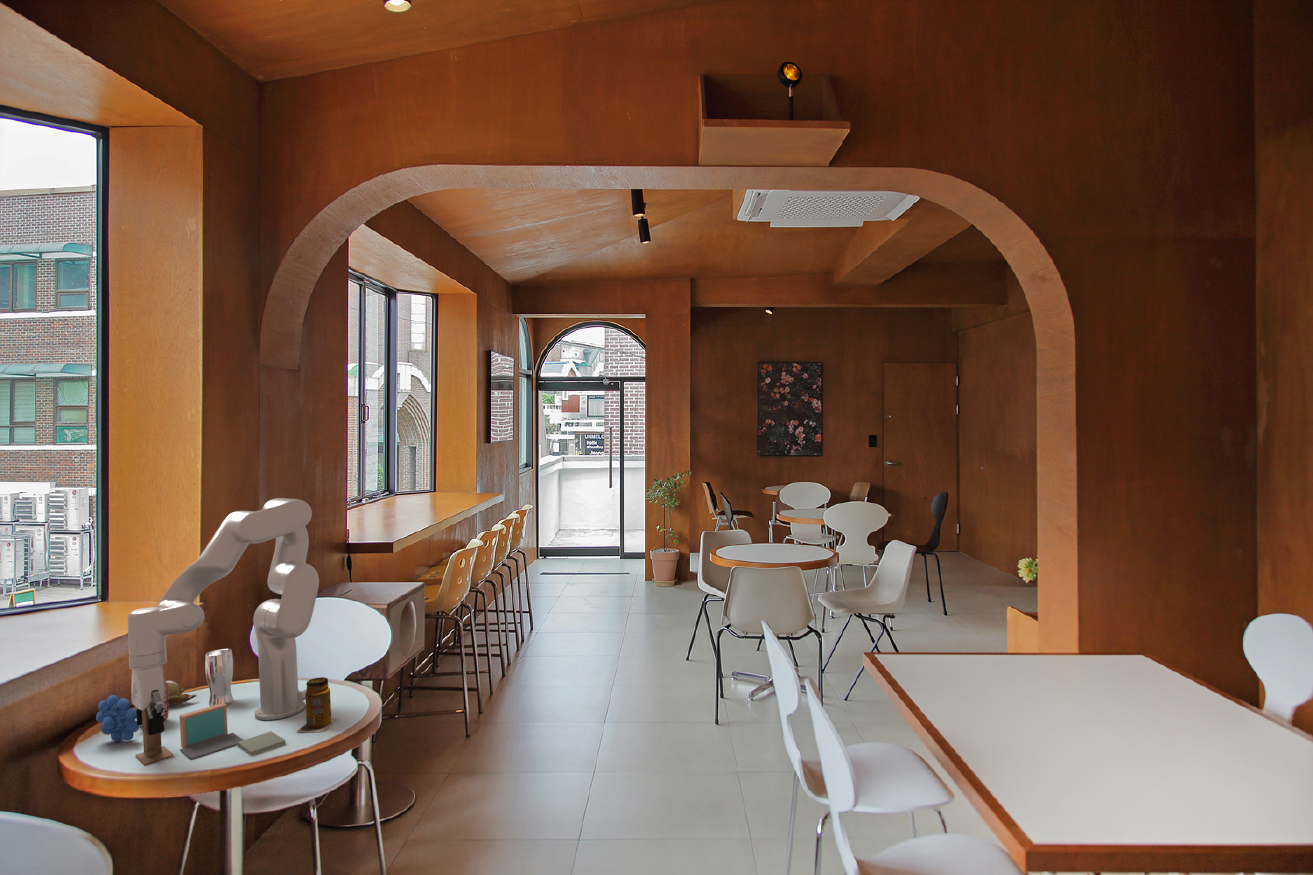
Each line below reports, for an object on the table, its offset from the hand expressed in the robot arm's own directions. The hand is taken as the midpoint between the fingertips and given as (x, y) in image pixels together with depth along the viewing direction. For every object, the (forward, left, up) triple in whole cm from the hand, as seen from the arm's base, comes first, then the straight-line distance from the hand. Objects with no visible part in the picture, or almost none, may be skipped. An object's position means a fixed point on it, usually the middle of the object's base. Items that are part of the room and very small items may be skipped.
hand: (150, 728), depth 177 cm
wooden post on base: (0, +1, -7) cm, 7 cm away
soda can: (-6, -24, -7) cm, 26 cm away
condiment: (-33, +16, -7) cm, 38 cm away
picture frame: (-11, +1, -7) cm, 13 cm away
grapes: (+4, -17, -7) cm, 19 cm away
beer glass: (-23, -25, -7) cm, 35 cm away
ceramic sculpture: (-12, -37, -7) cm, 39 cm away
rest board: (-19, +16, -7) cm, 26 cm away
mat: (-11, +7, -7) cm, 15 cm away
